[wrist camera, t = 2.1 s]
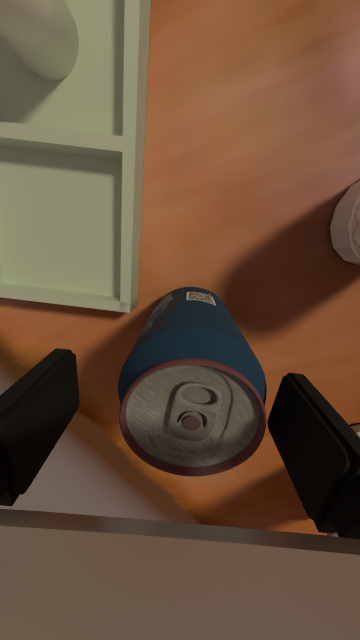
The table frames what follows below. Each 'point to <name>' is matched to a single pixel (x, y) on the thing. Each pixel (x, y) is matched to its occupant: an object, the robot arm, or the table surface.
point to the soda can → (192, 388)
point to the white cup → (347, 225)
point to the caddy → (76, 165)
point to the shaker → (41, 36)
